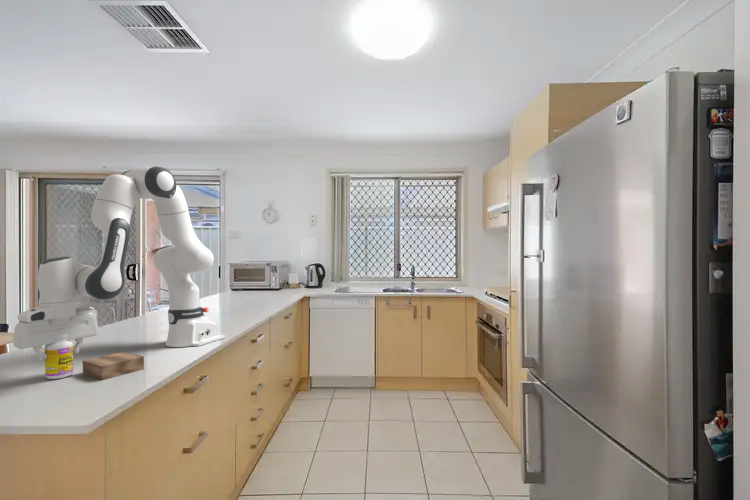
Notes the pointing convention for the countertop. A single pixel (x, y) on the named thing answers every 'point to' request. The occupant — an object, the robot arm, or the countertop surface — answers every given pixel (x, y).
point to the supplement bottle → (59, 358)
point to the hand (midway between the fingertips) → (59, 356)
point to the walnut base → (113, 365)
